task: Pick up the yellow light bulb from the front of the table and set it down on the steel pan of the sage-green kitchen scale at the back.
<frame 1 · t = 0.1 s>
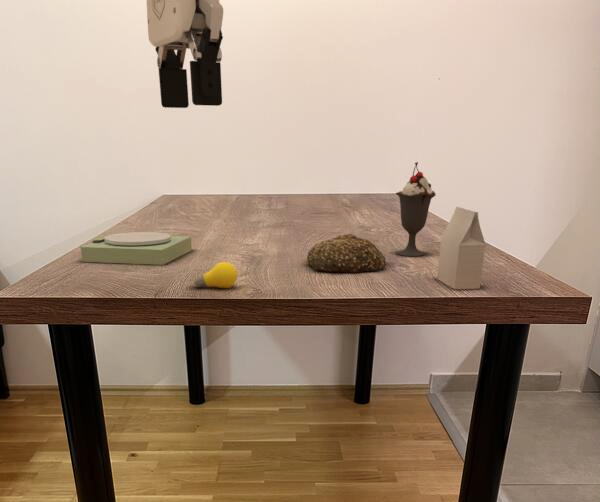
hand: (190, 106, 71), 22 cm above the table, tool pointing down, fingers open, 9 cm apart
bread roll: (346, 267, 102), on the table
sundae: (410, 255, 112), on the table
light bulb: (216, 289, 88), on the table
scale: (139, 255, 109), on the table
gable-top milk carton: (457, 285, 91), on the table
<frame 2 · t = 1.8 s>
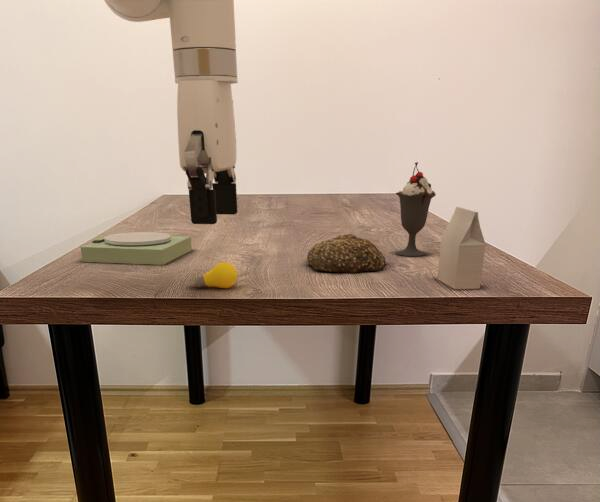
hand: (215, 218, 84), 9 cm above the table, tool pointing down, fingers open, 9 cm apart
nothing on the table moved.
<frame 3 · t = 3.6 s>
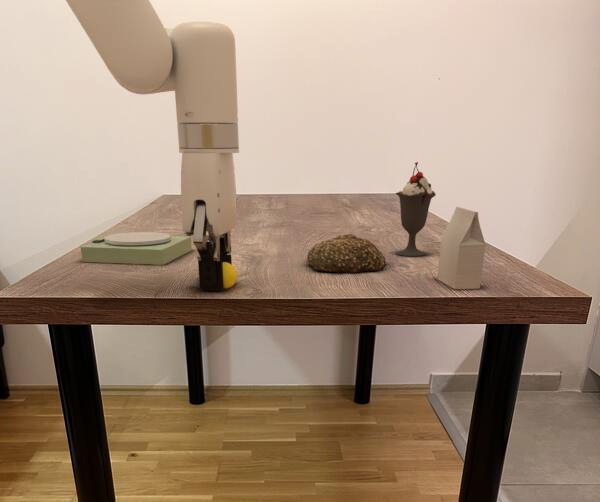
hand: (216, 285, 88), 0 cm above the table, tool pointing down, fingers closed on light bulb, 3 cm apart
light bulb: (216, 289, 88), on the table, touching gripper
everything else where it was.
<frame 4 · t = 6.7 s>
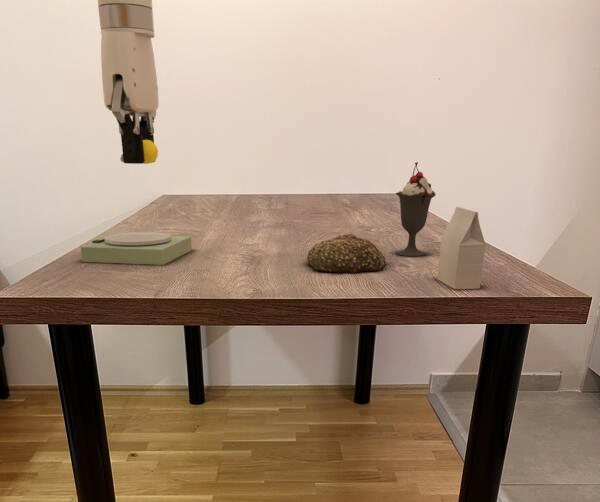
hand: (139, 161, 99), 15 cm above the table, tool pointing down, fingers closed on light bulb, 3 cm apart
light bulb: (139, 165, 99), point 15 cm above the table, touching gripper
everything else where it was.
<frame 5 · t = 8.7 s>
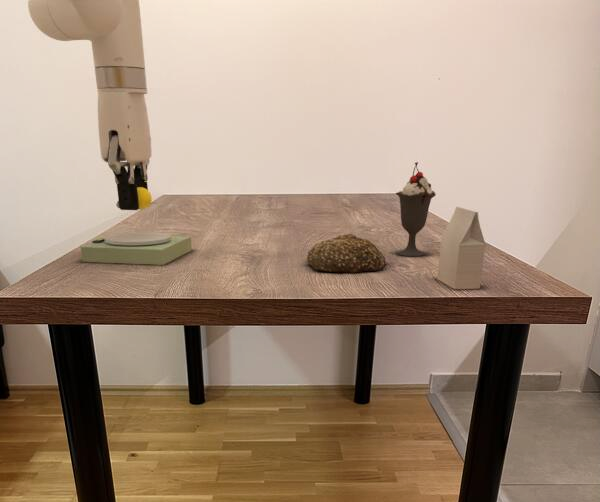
hand: (134, 207, 106), 8 cm above the table, tool pointing down, fingers closed on light bulb, 3 cm apart
light bulb: (134, 210, 106), point 7 cm above the table, touching gripper
everything else where it was.
when the fingers open (3 cm above the table, at t = 10.1 s): light bulb stays where it is, resting on scale.
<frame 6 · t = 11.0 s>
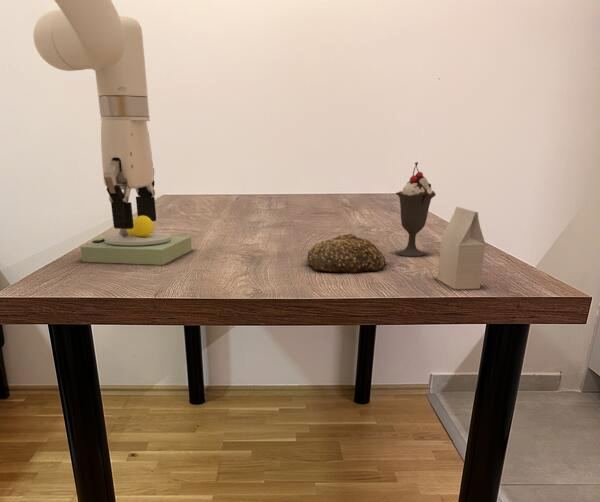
hand: (136, 224, 107), 5 cm above the table, tool pointing down, fingers open, 9 cm apart
light bulb: (137, 238, 108), point 3 cm above the table, touching scale
everything else where it was.
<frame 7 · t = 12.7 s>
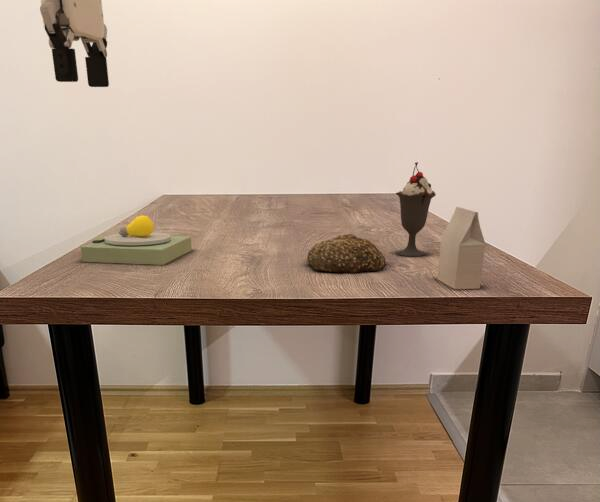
hand: (83, 84, 94), 26 cm above the table, tool pointing down, fingers open, 9 cm apart
nothing on the table moved.
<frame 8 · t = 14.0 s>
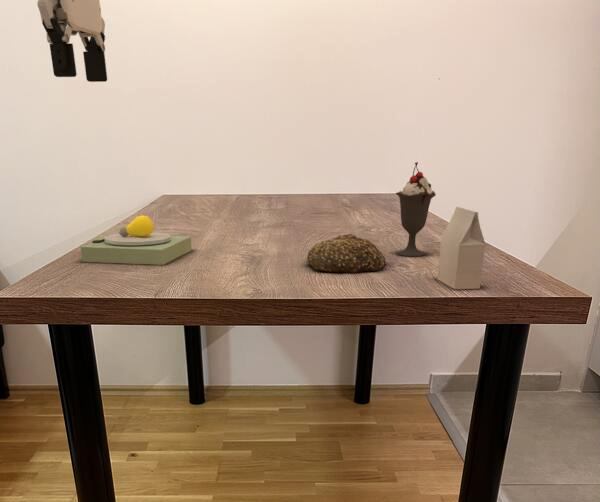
hand: (82, 79, 94), 26 cm above the table, tool pointing down, fingers open, 9 cm apart
nothing on the table moved.
at the end: light bulb inside the target area on the scale (0.3 cm from its centre), point 3.0 cm above the scale's base; the gripper is holding nothing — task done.
